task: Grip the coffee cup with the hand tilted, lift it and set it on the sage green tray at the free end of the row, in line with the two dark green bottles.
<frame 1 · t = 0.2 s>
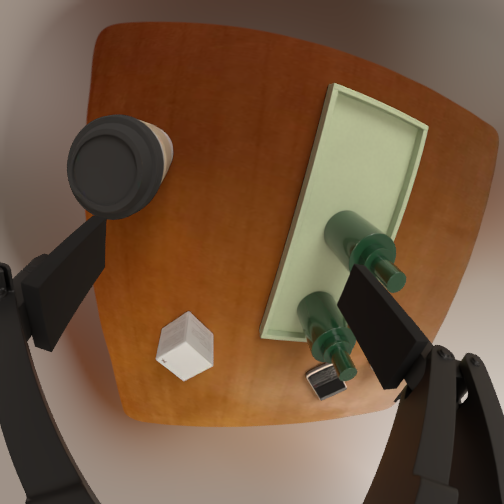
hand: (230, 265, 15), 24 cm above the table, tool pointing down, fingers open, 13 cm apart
product box: (187, 330, 45), on the table
coffee cup: (147, 152, 34), on the table
bottle mid: (344, 231, 40), point 1 cm above the table, touching tray
cell phone: (325, 378, 54), on the table
tray: (343, 230, 40), on the table
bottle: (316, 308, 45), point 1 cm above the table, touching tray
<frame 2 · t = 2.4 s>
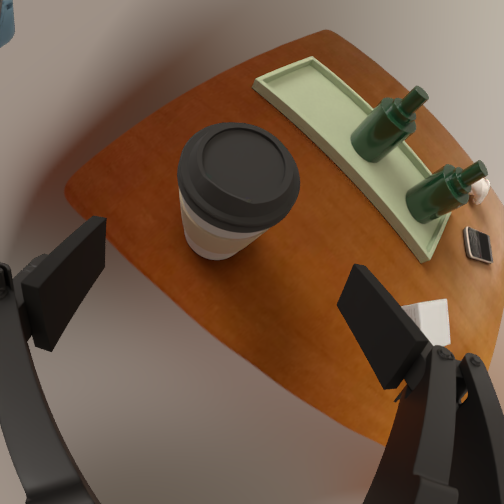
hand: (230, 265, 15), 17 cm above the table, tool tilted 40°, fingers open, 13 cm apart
product box: (396, 329, 36), on the table
coffee cup: (214, 231, 33), on the table
bottle mid: (366, 146, 42), point 1 cm above the table, touching tray
cell phone: (475, 247, 46), on the table
tray: (364, 148, 43), on the table
elephant figurine: (465, 191, 50), on the table
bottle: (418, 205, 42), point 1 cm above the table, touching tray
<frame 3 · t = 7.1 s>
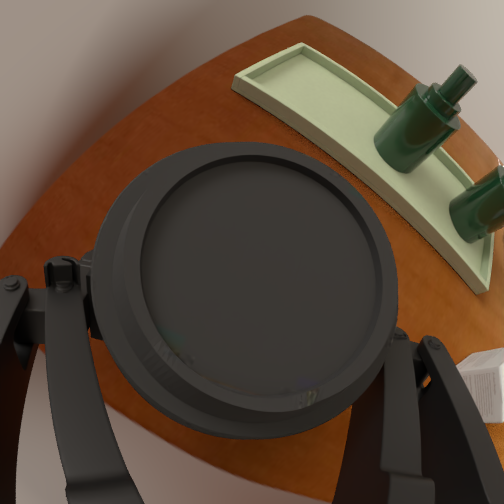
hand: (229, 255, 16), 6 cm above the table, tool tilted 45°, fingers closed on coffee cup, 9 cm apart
product box: (460, 387, 23), on the table
coffee cup: (210, 326, 20), on the table, touching gripper
bottle mid: (394, 151, 31), point 1 cm above the table, touching tray
tray: (392, 154, 31), on the table
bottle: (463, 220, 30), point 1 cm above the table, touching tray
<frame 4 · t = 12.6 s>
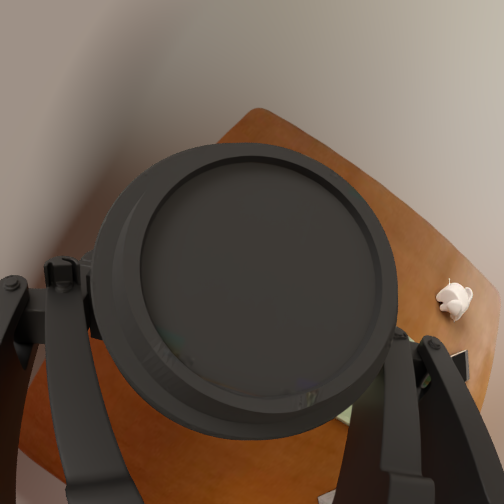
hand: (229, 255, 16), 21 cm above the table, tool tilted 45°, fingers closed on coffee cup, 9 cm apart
product box: (337, 501, 29), on the table
coffee cup: (209, 326, 20), point 15 cm above the table, touching gripper
cell phone: (448, 371, 40), on the table
elephant figurine: (441, 304, 44), on the table
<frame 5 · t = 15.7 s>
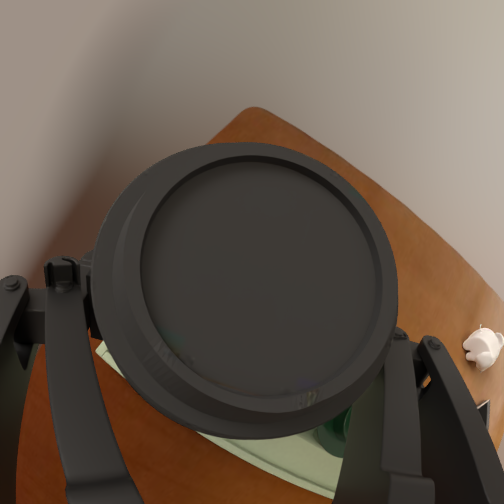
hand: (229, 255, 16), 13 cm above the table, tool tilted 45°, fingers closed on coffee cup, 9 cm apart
coffee cup: (210, 326, 20), point 7 cm above the table, touching gripper
bottle mid: (306, 404, 26), point 1 cm above the table, touching tray
cell phone: (468, 425, 29), on the table
tray: (304, 404, 26), on the table
elephant figurine: (467, 351, 34), on the table
when the fingers open (6 cm above the table, at t = 18.1 s): coffee cup stays where it is, resting on tray.
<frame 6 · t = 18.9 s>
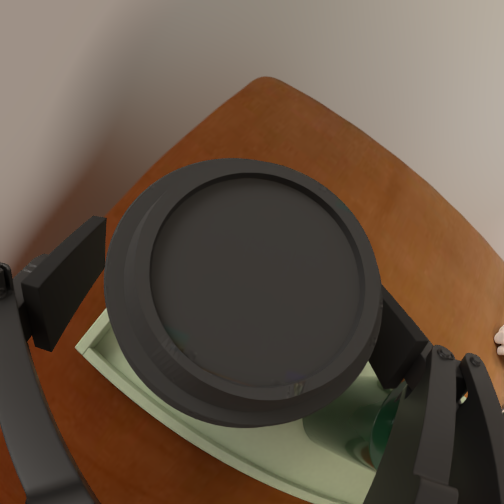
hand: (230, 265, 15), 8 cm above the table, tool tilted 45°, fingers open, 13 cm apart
coffee cup: (211, 326, 21), resting on tray
bottle mid: (337, 412, 20), point 1 cm above the table, touching tray
tray: (334, 411, 21), on the table
elephant figurine: (498, 345, 28), on the table
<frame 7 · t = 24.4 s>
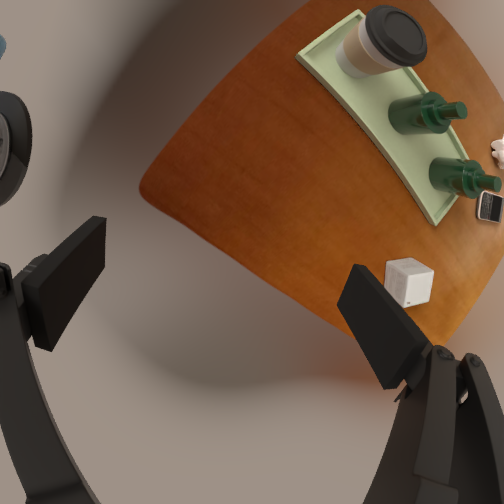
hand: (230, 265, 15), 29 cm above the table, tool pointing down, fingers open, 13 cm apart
product box: (396, 273, 50), on the table
coffee cup: (354, 59, 37), resting on tray
bottle mid: (402, 116, 40), point 1 cm above the table, touching tray
cell phone: (488, 206, 49), on the table
tray: (401, 117, 41), on the table
elephant figurine: (493, 151, 45), on the table
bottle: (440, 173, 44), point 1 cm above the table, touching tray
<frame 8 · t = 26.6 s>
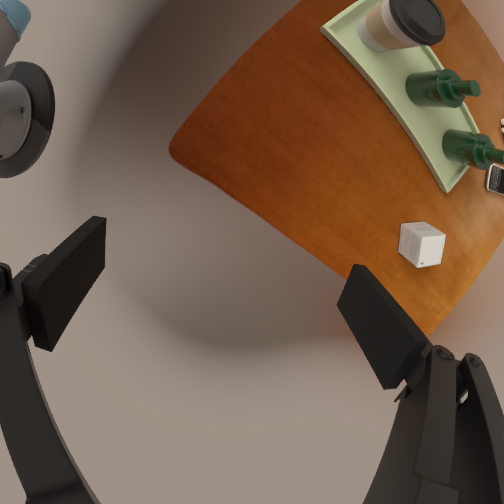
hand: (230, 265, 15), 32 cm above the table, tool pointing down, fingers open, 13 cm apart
product box: (410, 235, 52), on the table
coffee cup: (374, 34, 35), resting on tray
bottle mid: (419, 89, 39), point 1 cm above the table, touching tray
cell phone: (496, 179, 48), on the table
tray: (417, 89, 39), on the table
elephant figurine: (503, 128, 43), on the table
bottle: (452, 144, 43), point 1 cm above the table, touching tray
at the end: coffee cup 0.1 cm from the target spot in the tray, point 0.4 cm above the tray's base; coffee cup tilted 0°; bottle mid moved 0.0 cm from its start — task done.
